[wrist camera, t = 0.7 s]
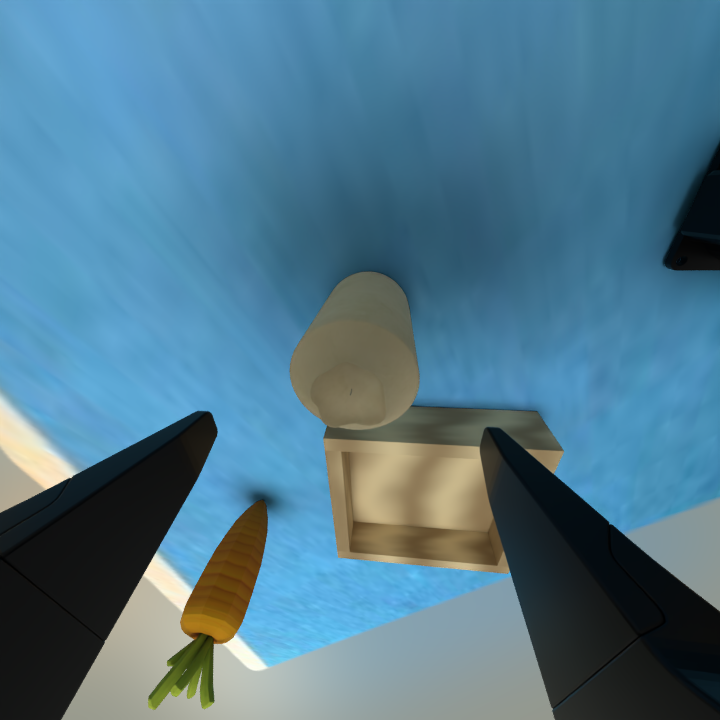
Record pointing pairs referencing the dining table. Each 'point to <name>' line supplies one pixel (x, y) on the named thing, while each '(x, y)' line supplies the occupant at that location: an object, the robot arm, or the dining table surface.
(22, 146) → the dining table surface
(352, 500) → the box
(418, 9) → the dining table surface
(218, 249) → the dining table surface
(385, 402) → the candle
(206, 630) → the carrot
